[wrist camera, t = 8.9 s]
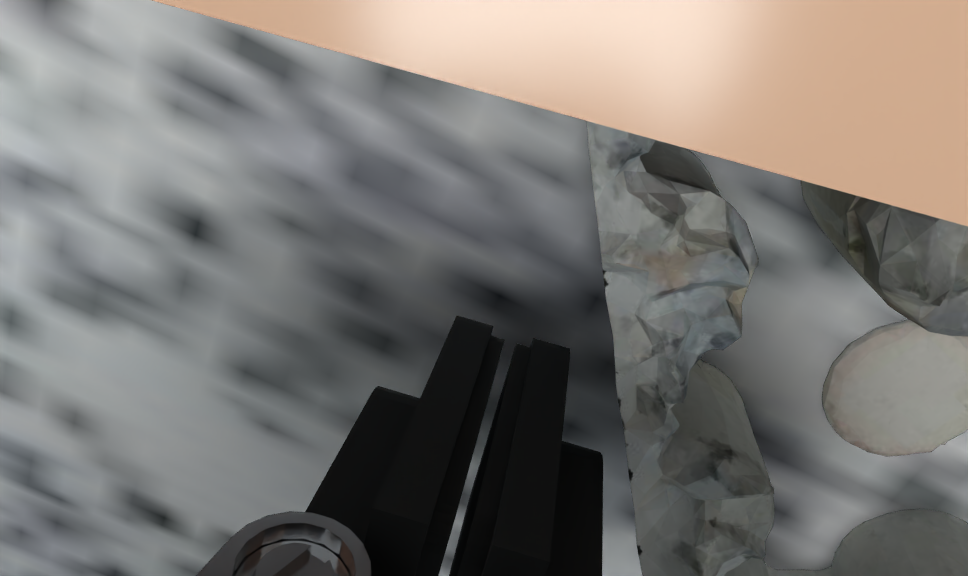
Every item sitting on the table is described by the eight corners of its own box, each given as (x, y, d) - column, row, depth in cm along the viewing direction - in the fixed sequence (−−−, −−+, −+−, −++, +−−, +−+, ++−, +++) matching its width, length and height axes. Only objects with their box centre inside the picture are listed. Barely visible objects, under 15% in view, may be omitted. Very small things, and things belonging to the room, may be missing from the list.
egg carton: (1135, 556, 11) (1403, 850, 7) (649, 569, 13) (670, 816, 9) (1316, -254, 7) (2118, -501, 3) (565, -83, 9) (539, -121, 5)
